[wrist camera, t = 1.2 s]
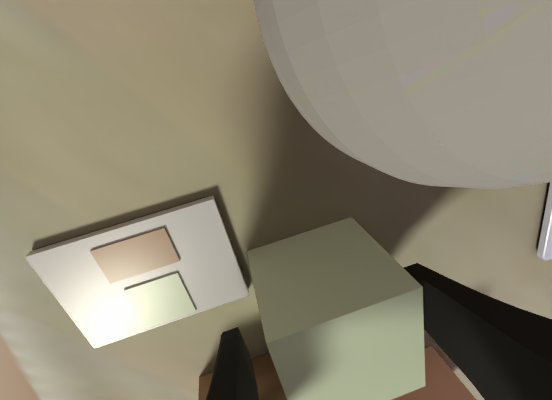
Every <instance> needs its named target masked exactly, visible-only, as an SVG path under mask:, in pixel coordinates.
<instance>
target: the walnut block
mask: <svg viewBox="0 0 552 400" xmlns="http://www.w3.org/2000/svg"><path fill="white" fill-rule="evenodd" d="M251 360H252V363H253V368H254V373H255V378H256V383H257V388H258V397H259V400H287V398H286V395H285V393H284V390H283V387H282V385H281V382H280V379H279V377H278V374H277V371H276V369H275V366H274V363H273V361H272V358H271V355H270V353H267V354H264V355H261V356H258V357H255V358H252V359H251ZM212 376H213V372H212V373H209V374H206V375H203V376H200V377H199V400H206V397H207V394H208V390H209V387H210V383H211V379H212Z"/></svg>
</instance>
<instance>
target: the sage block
mask: <svg viewBox="0 0 552 400" xmlns="http://www.w3.org/2000/svg"><path fill="white" fill-rule="evenodd" d="M247 256H248V261H249V265H250V270H251V275H252V279H253V284H254V289H255V294H256V298H257V303H258V308H259V312H260V317H261V322H262V327H263V331H264V336H265V341H266V345H267V347H268V350H269V353H270V355H271V358H272V361H273V363H274V366H275V369H276V371H277V374H278V377H279V379H280V382H281V385H282V387H283V390H284V393H285V395H286V398H287V400H392V399H394V398H397V397H399V396H402V395H404V394H407V393H409V392H412V391H414V390H417V389H419V388H422V387H424V386H425V352H424V316H423V287H422V286H421V285H420V284H419V283H418V282H417V281H416V280H415V279H414V278H413V277H412V276H411V275H410V274H409V273H408V272H407V271H406V270H405V269H404V268H403V267H402V266H401V265H400V264H399V263H398V262H397V261H396V260H395V259H394V258H393V257H392V256H391V255H390V254H389V253H388V252H387V251H386V250H385V249H384V248H383V247H382V246H381V245H380V244H379V243H377V242H376V241H375V240H374V239H373V238H372V237H371V236H370V235H369V234H368V233H367V232H366V231H365V230H364V229H363V228H362V227H361V226H360V225H359V224H358V223H357V222H356V221H355V220H354V219H353V218H352V217H349V218H346V219H343V220H340V221H337V222H334V223H331V224H328V225H325V226H322V227H319V228H316V229H313V230H310V231H307V232H304V233H301V234H298V235H295V236H292V237H289V238H286V239H283V240H280V241H277V242H274V243H271V244H268V245H265V246H261V247H258V248H255V249H252V250H249V251H247Z"/></svg>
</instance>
